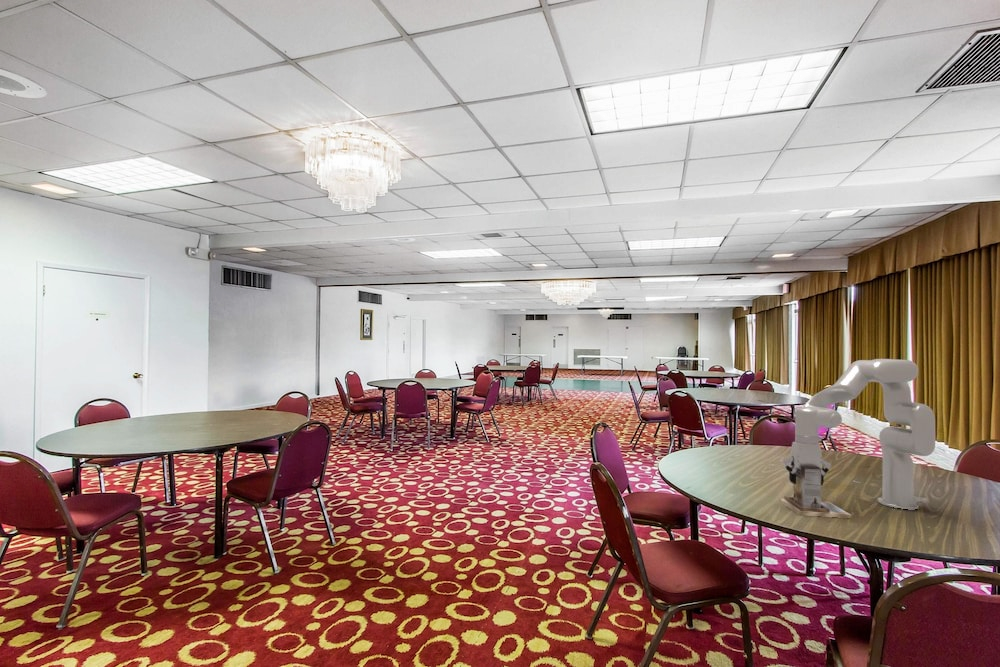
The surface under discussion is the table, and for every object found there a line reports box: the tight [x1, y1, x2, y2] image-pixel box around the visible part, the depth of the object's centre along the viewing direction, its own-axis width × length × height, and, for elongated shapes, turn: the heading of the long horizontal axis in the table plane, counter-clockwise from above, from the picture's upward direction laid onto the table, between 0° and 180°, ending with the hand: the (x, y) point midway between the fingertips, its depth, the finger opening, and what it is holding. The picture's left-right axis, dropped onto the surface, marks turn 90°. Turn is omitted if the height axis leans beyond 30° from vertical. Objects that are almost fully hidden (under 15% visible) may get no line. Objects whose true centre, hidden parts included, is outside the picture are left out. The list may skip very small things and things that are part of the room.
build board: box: [780, 496, 852, 519], centre depth 177 cm, size 18×14×3 cm
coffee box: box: [793, 466, 822, 508], centre depth 178 cm, size 9×6×16 cm
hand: (806, 483), depth 178 cm, fingers open, 9 cm apart
